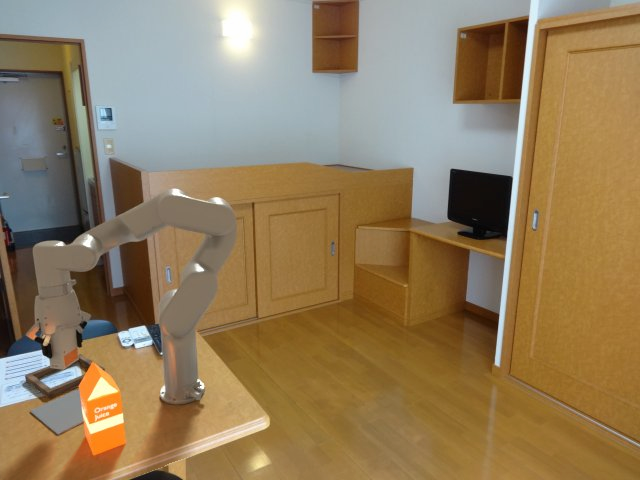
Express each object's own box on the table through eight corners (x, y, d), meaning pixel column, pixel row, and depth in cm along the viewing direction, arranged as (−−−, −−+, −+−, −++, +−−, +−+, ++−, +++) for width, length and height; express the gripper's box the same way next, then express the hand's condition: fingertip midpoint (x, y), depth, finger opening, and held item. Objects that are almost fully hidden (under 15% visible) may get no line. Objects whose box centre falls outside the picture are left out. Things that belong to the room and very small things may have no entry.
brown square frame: (105, 374, 149) (104, 368, 149) (48, 398, 136) (47, 392, 136) (81, 359, 158) (80, 353, 157) (25, 381, 145) (24, 375, 144)
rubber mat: (113, 407, 132) (113, 406, 132) (57, 435, 121) (57, 434, 121) (84, 387, 142) (84, 386, 142) (30, 411, 130) (29, 410, 130)
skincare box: (64, 370, 124) (58, 328, 121) (50, 368, 125) (44, 326, 122) (80, 359, 130) (75, 318, 127) (66, 357, 131) (61, 317, 128)
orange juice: (117, 425, 125) (109, 356, 120) (126, 443, 118) (118, 371, 113) (84, 436, 121) (75, 365, 115) (92, 456, 114) (82, 381, 109)
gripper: (81, 277, 131) (88, 336, 135) (11, 295, 117) (22, 359, 122) (95, 283, 127) (102, 343, 131) (24, 302, 113) (35, 369, 118)
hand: (63, 351), depth 127 cm, fingers closed on skincare box, 7 cm apart
